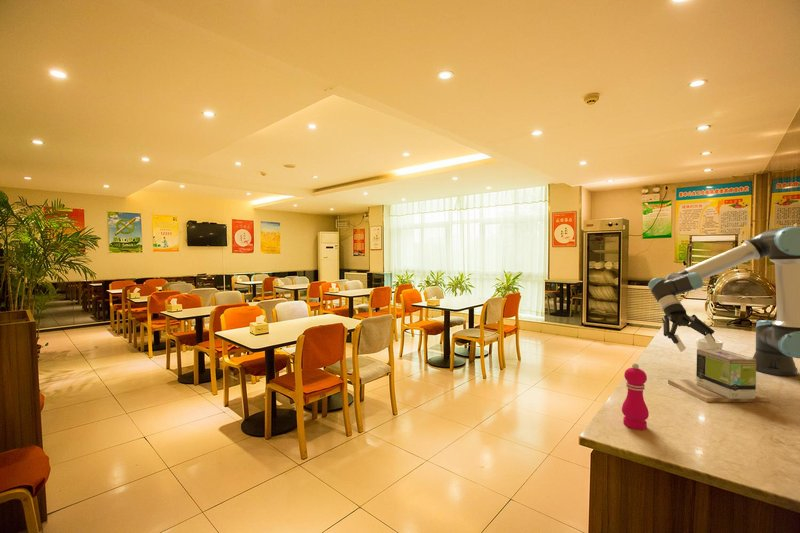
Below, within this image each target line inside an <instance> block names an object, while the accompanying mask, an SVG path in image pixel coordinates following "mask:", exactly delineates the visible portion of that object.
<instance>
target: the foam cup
mask: <svg viewBox="0 0 800 533" xmlns="http://www.w3.org/2000/svg"><path fill="white" fill-rule="evenodd" d="M695 342H696V343H695V344H696V348H697V349H712V348H711V347H710V345H709V344H708V342H707V341H706V340H705V338H704V337H703V338H699V337H697V338H696V339H695ZM715 342H716V344H717V345H718V346H719V348H718V349H722V348H724V347H723V340H719V339H715ZM697 349H696V350H697ZM722 350H723V349H722Z"/></svg>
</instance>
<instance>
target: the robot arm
mask: <svg viewBox="0 0 800 533" xmlns="http://www.w3.org/2000/svg"><path fill="white" fill-rule="evenodd" d="M768 256H769V258H768V259H769V261H771V262H772V263H774V274H775V275H774V277H775V278H774V279H775V280H774V281H775V301H776V303H775V304H776V319H775V320H765V319H763V320H762V319H759V320H757V321H756V324H755V325H756V326H755V352H754V354H753V357H752V358H754V359H756V372H760V373H764V374H768V375H776V376H783V377H796V376H798V373H799V370H798V367H797V366H796V362H795V361H794V359H800V226H787V227H786V226H785V227H777V228H771V229H768V230H766V231H763V232H761V233H759V234H757V235H754V236H752V237H750V238H749V239H746V240H744V241H743V242H742V244H741V245H738V246H736V247H733V248H731V249H728V250H727V251H724V252H722V253H719V254H717V255H715V256H712V257H710V258H708V259H705V260H703V261H700V262H698V263H696V264H693V265H690V266H688V267H686V268H684V269H681V270H680V271H677V272H672V273H670V274H668V275H667V276H666V277H665V278H664V277H660V276H659V277H655V278H652V279H651V280H650V281H649V282H648V284H647V287H648V289H649V290H650V293H651V294H652V295H653V297H654V299H655V300H656V302H657V303H658V306H660V308H661V310H662V311H663V313H664V316H663V317H662V318H661V320H662V324H663V325H662V326H663V327H662V328H663V336H664V337H667V339H670V340H671V341H672V342H673V344H675V345H676V347H677V349H678V350H679V352H680V353H681V352H683V351H685V350H686V349H687V347H686V346H685V344H684V343H683V341H682V340H681V338H680V337H679V335H678V334H676V331H677V329H678V327H687V328H691V329H693V330H694V331H696V332H697V333H699V334H701V335H702V336H703V338H705V340H706V341H707V342H708V344H709V345H710V347H711V348H712V349H718V348H719V346H718V345H717V344H716V342H715V340H716V339H715V338H714V336H713V334H714V333H715V330H714V329H713V328H711V327H710V326H708V325H707V324H706V323H705V322H703V321H702V320H700V318H698V317H697V316H696V314H692V315H688V314H687V310H686V308H685V307H684V305H683V304H682V302H681V301H680V299H679V298H678V297H677V295H678V296H679V295H681V294H683V293H684V294H685V293H687V292H691V291H694V290H695V291H696V290H698V289H701V288H702V287H703V286H704V281H703V280H705V279H706V278H709V277H711V276H713V275H717V274H720V273H721V272H724V271H726V270H729V269H731V268H733V267H737V266H738V265H741V264H743V263H745V262H750V261H751V260H760V259H762V258H765V257H768ZM670 322H672V324H671V327H670Z"/></svg>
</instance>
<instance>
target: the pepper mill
mask: <svg viewBox="0 0 800 533" xmlns="http://www.w3.org/2000/svg"><path fill="white" fill-rule="evenodd" d="M623 377H624V379H625V380H626V382H625V384H626V385H625V386H626V388H627V394H626V397H625V399H624V401H623V403H622V406H621V412H622V414H623V425H625V426H626V427H627V426H628V428H630V429H632V430H638V431H641V430H642V431H643V430H644V431H645V430H646V429H647V427H648V422H647V419H648V418H649V417H650V414H649V413H650V412H649V409H648V406H647V404H646V402H645V399H644V391H645V383H646V382H647V380H648V378H647V374H646V372H645V371H644V370H643V369H641V368H640V365H639V364H638V363H636V362H635V363H633V364H632V366H631V367H629V368H627V369H625V371H624V376H623Z"/></svg>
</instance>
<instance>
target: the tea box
mask: <svg viewBox="0 0 800 533" xmlns="http://www.w3.org/2000/svg"><path fill="white" fill-rule="evenodd" d="M695 371H696V378H695V379H696V384H697V385H699V386H701V387H704V388H706V389H709V390H711V391H713V392H716V393H718V394H720V395H723V396H725V397H727V398H729V399H755V394H756V392H757V391H756V390H757V389H756V388H757V371H756V359H754V358H753V357H751V356H747V355H743V354H739V353H737V352H732V351H730V350H729V351H728V350H725V349H696V370H695Z"/></svg>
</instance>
